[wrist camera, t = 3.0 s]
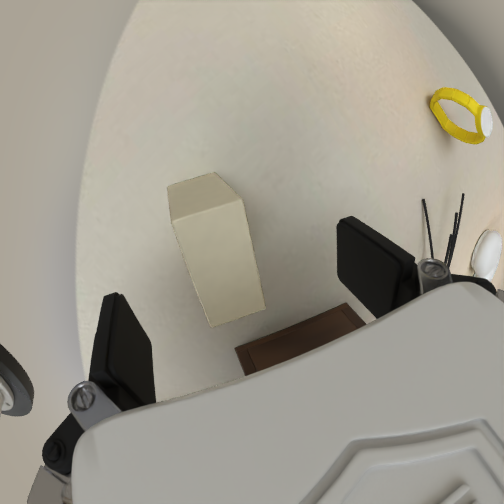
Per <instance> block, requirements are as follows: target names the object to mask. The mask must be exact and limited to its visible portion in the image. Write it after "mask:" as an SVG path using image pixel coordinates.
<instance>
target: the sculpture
mask: <svg viewBox="0 0 504 504" xmlns="http://www.w3.org/2000/svg"><path fill="white" fill-rule="evenodd" d="M501 250H502V238H501V235H500V234H499V232H497V231H495V230H492V231H490V230H486V231H485V232H484V233H483V234H482V235H481V237H480V238H479V240H478V242H477V244H476V247H475V249H474V252H473V255H472V261H471V265H472V268H474V270H475V274H474V276H473V277H480V278H485V279H487V280H488V281H489V282H491V280H492V278H493V276H494V274H495V271H496V269H497V266H498V263H499V260H500V256H501Z"/></svg>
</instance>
